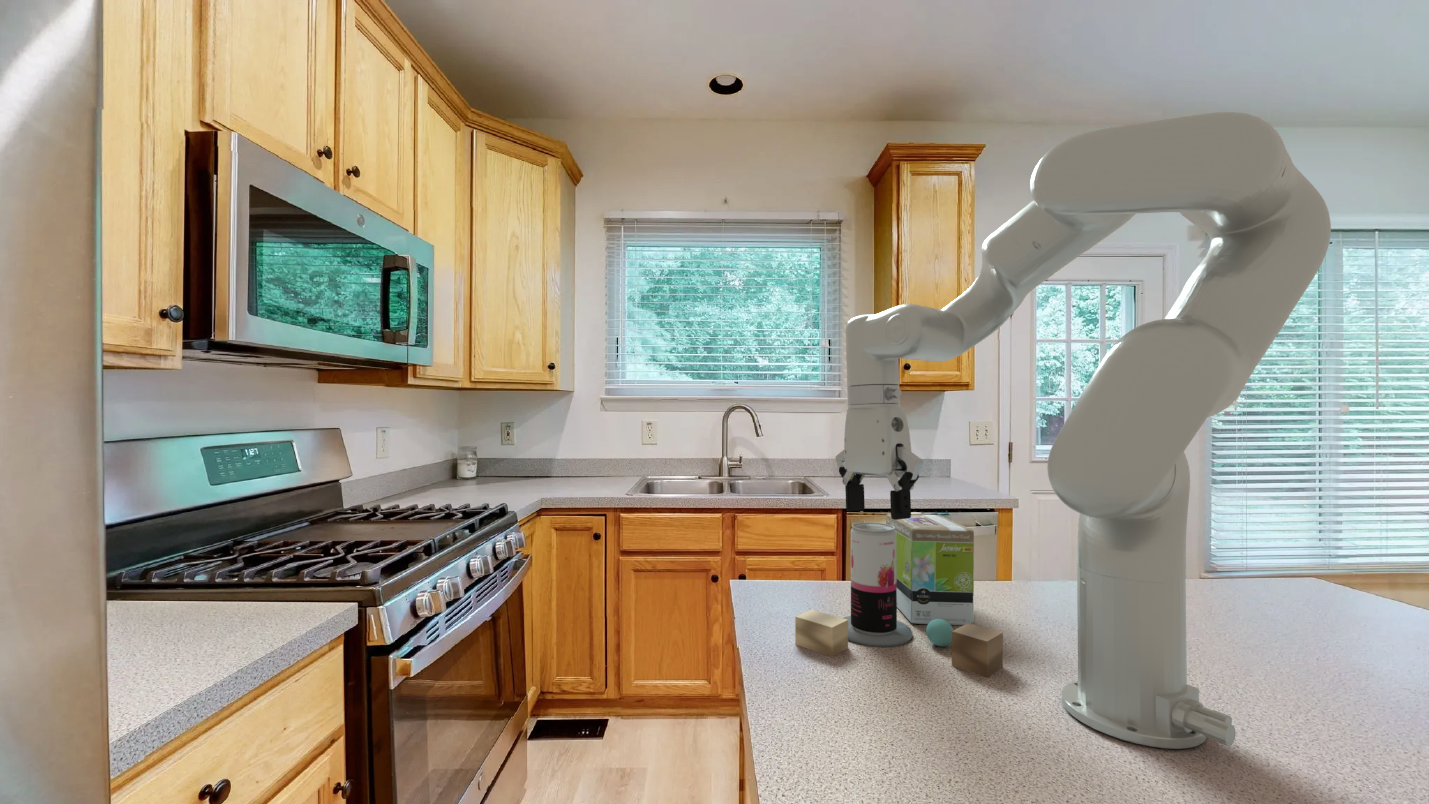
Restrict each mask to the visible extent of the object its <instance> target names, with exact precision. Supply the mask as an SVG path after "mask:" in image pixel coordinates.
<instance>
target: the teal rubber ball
mask: <svg viewBox="0 0 1429 804" xmlns="http://www.w3.org/2000/svg"><path fill="white" fill-rule="evenodd" d="M953 630H954V629H953V626H952V625H950V624H949V623H948V622H947V621H945V620H943V619H934V620H932V621H930V622H929V624H926V629H925V634H926V636H927V639H928V640H929V642H931V643H932V644H933V645H934V646H938V647H946V646H948V645H950V644H952V631H953Z"/></svg>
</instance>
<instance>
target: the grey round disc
mask: <svg viewBox="0 0 1429 804" xmlns="http://www.w3.org/2000/svg"><path fill="white" fill-rule="evenodd" d="M842 618H843V619H847V620H848V642H852V643H855V644H859V645H863V646H870V647H882V648H884V647H886V648H887V647H896V646H903V645H905V644H907V643H909V642H910V641H911V640H912V638H913V631H912V628H911V627H910V626H909V625H907V624H906V623H904V622H902V621H900V620H897V628H896V630H894V631H893V632H892V633H891V634H887V635H870V634H865V633H862V632H859V631H857V630H856V629H855V628H854V627H853V626H852V625H851V615H848V616H844V617H842Z"/></svg>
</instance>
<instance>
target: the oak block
mask: <svg viewBox="0 0 1429 804" xmlns="http://www.w3.org/2000/svg"><path fill="white" fill-rule="evenodd" d="M843 618H844V617H839V616H836V615H833V614H829V613H825V612H822V611H819V610H815V609H809V610H807V611H806V612H803V613H801V614H799V615H796V616H795V618H794V619H795V622H794V623H795V625H794V628H795V634H794V635H795V636H794V637H795V639H794V640H795V643H794V644H795V645H797V646H800V647H801V648H806V649H808V650H811V651H814V652H818V653H820V654H823V655H826V656H829V657H831V658H833V657H835V656H837V655H838V654H840V653H842V652H844V651H845V650H848V649H849V640H848V620H847V619H843Z"/></svg>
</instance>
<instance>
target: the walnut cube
mask: <svg viewBox="0 0 1429 804" xmlns="http://www.w3.org/2000/svg"><path fill="white" fill-rule="evenodd" d="M1003 636H1004V635H1003V632H1002V631H998V630H994V629H992V628H987V627H984V626H980V625H976V624H973V623H972V624H970V623H967V624H965V625H960V627H958V628H955V629H953V631H952V642H951V666H952V667H955V668H956V669H957V668H958V669H960V670H963V671H965V672H969V673H972V674H975V675H978V676H981V677H984V678H986V679H987V678H989V677H991V676H992V675H994V674H995V673H996V672H998V671H1000V670H1001V669H1003V667H1004V648H1003V647H1004V646H1003V645H1004V643H1003V642H1004V639H1003V638H1004V637H1003Z"/></svg>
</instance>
